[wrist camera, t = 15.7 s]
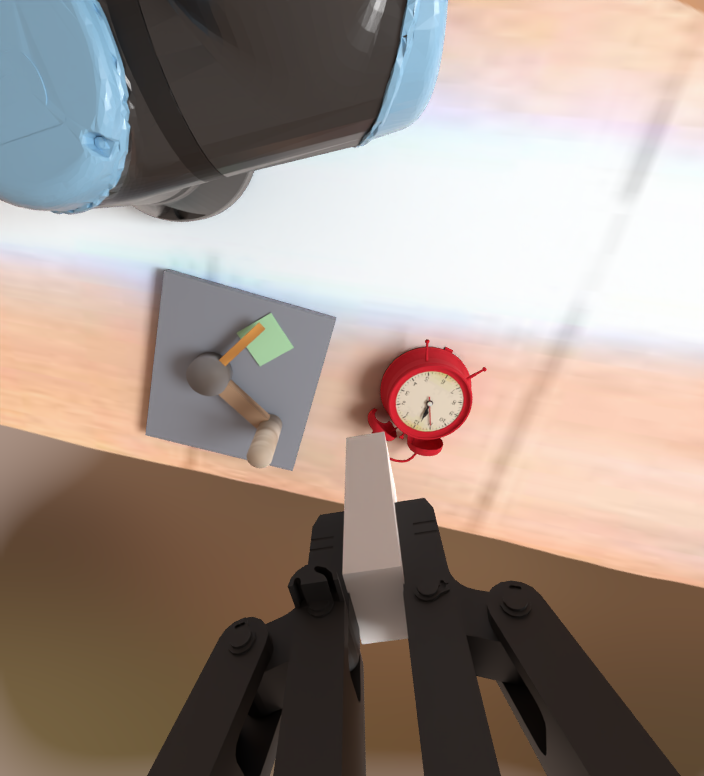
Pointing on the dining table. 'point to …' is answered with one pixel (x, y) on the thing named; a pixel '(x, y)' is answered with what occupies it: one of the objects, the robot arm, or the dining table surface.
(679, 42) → the dining table surface
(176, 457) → the dining table surface
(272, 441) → the peg lever
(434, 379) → the alarm clock
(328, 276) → the dining table surface
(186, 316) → the tuner board
